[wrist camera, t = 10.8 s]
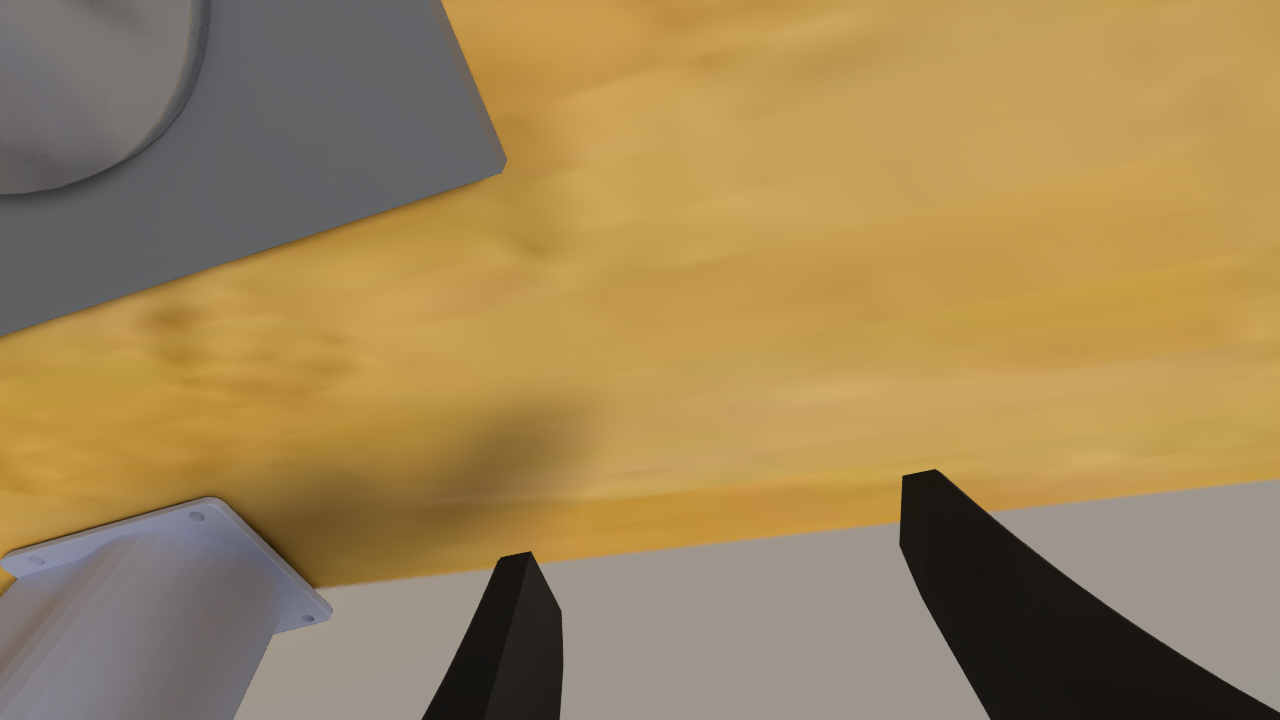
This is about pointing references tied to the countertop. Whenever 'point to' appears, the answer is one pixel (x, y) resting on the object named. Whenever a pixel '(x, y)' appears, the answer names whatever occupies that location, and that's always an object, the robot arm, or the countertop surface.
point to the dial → (91, 83)
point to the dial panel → (259, 153)
